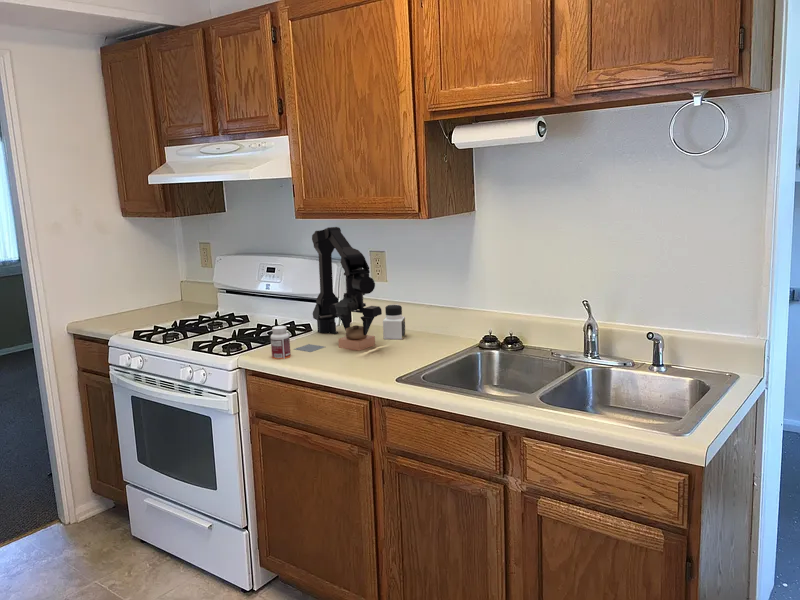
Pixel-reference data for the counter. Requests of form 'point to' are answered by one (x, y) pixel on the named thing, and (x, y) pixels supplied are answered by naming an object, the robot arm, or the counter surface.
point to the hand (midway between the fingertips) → (356, 333)
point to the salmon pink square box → (356, 343)
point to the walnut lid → (355, 332)
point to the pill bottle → (280, 343)
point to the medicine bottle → (393, 323)
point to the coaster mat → (309, 348)
